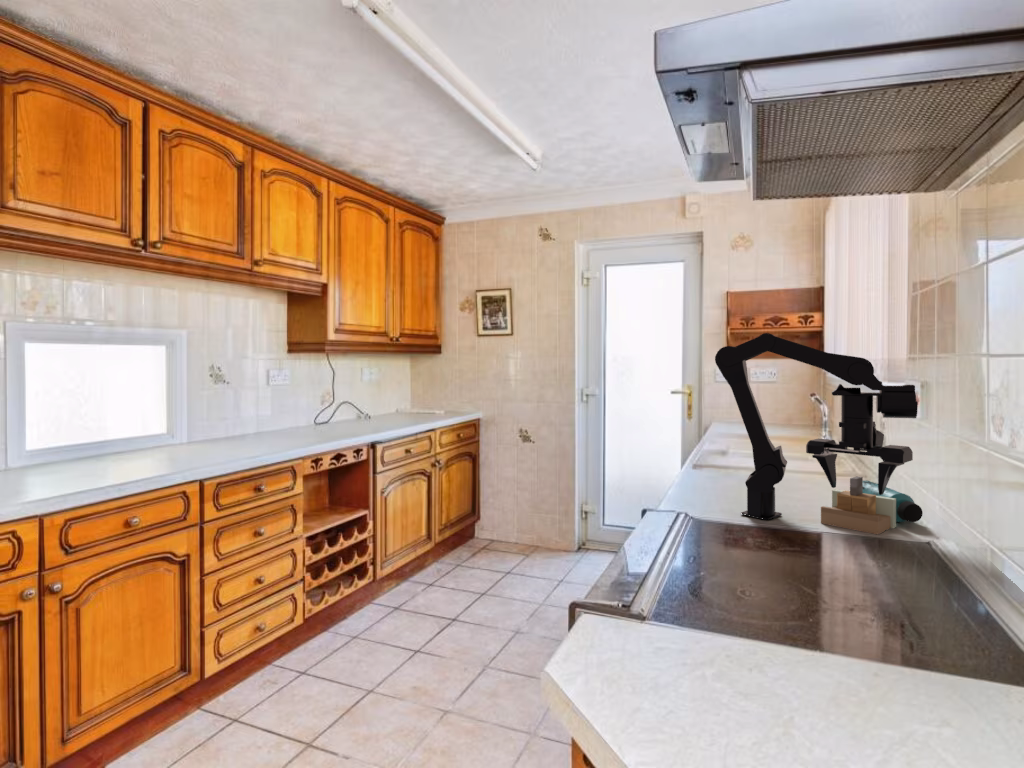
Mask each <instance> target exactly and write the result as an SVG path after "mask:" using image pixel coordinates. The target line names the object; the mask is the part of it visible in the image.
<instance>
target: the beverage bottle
mask: <svg viewBox="0 0 1024 768" xmlns="http://www.w3.org/2000/svg"><path fill="white" fill-rule="evenodd" d="M863 493H865V494H871V495H876V496H882V497H889V498H895V499H896V523H904V522H909V523H917V522H919V521H920V520H921V519H922V517H923V509H922V507H921V506H920V505H918V504H917V503H915V500H914V499H913V497H911V496H910V495H908V494H906V493H902V492H900V491H897V490H896V489H892V488H890V487H888V486H886V488H885V491H884V493H883V495H879V491H878V483H877V482H874V481H871V480H868V479H865V480H863Z"/></svg>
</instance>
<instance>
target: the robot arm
mask: <svg viewBox="0 0 1024 768" xmlns="http://www.w3.org/2000/svg"><path fill="white" fill-rule="evenodd" d="M716 352H717V353H716V354H715V356H714V361H715V362H714V363H715V364H716V367H717V368H718V369H719V372H720V373H721V375H722V376H723V378H724V379H725V381H726V382H727V384H728V385H729V387H730V389H731V392H732V394H733V397H734V400H735V402H736V406H737V407H738V411H739V413H740V415H741V418H742V421H743V425H744V427H745V430H746V433H747V435H748V438H749V441H750V443H751V447H752V458H753V464H754V471H752V473H750V474H749V475H748V477H747V479H746V481H745V486H746V499H747V500H746V501H747V502H746V504H747V505H746V509H747V510H744V511H742V512H740V514H741V513H742V514H746V515H750V516H754V517H758V518H757V519H759V518H763V519H762V520H764V519H766V520H765V521H769V519H770V520H772V518H773V519H775V518H778V517H780V516H782V515H783V514H782V512H778V511H776V487H775V485H778V484H779V483H780V482H781V481H782V480H783V478H785V477H784V476H785V472H786V468H787V465H788V461H787V460H786V458H785V456H784V453H783V447H782V445H778V446H776V447H775V446H774V444H773V443H772V441H771V439H770V437H769V434H768V431H767V429H766V426H765V423H764V421H763V420H764V419H762V416H761V413H760V410H759V407H758V405H757V404H758V403H757V402H756V398H755V397H754V396H755V395H754V393H753V391H752V388H751V386H750V385H751V384H750V382H749V373H748V366H747V361H749V360H752V359H753V358H755V357H757V356H759V355H762V354H765V353H767V352H769V353H772V354H775V355H779V356H781V357H783V358H788V359H791V360H794V361H797V362H799V363H803V364H806V365H809V366H813V367H815V368H819V369H822V371H823V370H824V372H825V371H826V372H827V373H829V374H831V375H833V376H834V377H837V378H838V379H840V380H842V381H844V382H846V383H849V384H851V385H852V386H853V385H854V386H865V387H866V388H868V389H870V390H872V391H879V392H866V391H863V392H861V391H862V390H861V387H845V386H843V385H842V383H839V384H838V386H837V387H836V388H835V389H834V390H832V391H831V395H832V396H834V397H835V396H836V397H837V396H841V399H840V400H841V401H840V402H841V408H840V409H841V413H840V414H841V418H840V419H841V421H839V422H838V427H839V428H841V429H840V430H841V431H840V433H841V438H840V439H841V440H840V441H838V443H837V442H836V440H835V439H827V438H814V439H810V440H809V441H807V443H806V444H805V445H806V446H805V451H806V452H805V453H806V454H809V455H810V454H811V455H812V456H811V457H812V458H813V459H816V461H818V463H819V465H820V467H821V468H822V470H823V472H824V474H825V476H826V478H827V481H828V482H829V484H830V486H831V488H833V489H834V488H836V487H837V468H836V461H837V457H838V454H839V453H840V454H848V455H859V456H867V457H868V456H869V457H876V458H878V457H879V458H880V459H881V460H882V461H881V462H877V464H878V470H877V474H878V475H877V476H878V477H877V484H878V491H879V495H883V493H884V491H885V488H886V487H888V484H889V481H890V479H891V476H892V475H893V473H894V471H895V470H896V468H898V467H899V466H902V465H905V463H908V462H911V461H913V458H914V457H913V456H914V455H913V454H914V453H913V450H912V448H911V447H910V446H905V445H897V444H896V445H895V444H889V445H886V446H885V445H884V437H885V434H884V433H883V432H882V431H880V430H878V429H877V425H876V421H874V418H873V417H874V397H876V399H875V403H876V404H875V407H876V408H875V409H876V413H879V414H882V418H883V419H885V418H886V419H892V418H893V419H917V416H918V402H919V401H917V393H916V385H915V384H904V385H883V381H881V380H879V379H878V378H877V376H875V368H874V365H873V364H872V362H871V361H870V360H868V359H866V358H865V357H859V356H854V355H852V356H851V355H847V354H846V355H845V354H839V353H832V352H831V353H830V352H826V351H824V350H820V349H816V348H813V347H810V346H806V345H804V344H800V343H798V342H795V341H791V340H788V339H785V338H781V337H778V336H776V335H774V334H772V333H769V332H765V333H761V334H760V335H759V336H757V337H755V338H753V339H752V338H751V339H750V340H747V341H745V342H743V343H740V344H738V345H736V346H733V345H726V346H723V347H721V348H719V350H718V351H716ZM883 445H884V446H883ZM850 448H851V449H850ZM852 448H853V449H852ZM750 516H749V517H750ZM754 517H753V518H754ZM767 519H768V520H767Z"/></svg>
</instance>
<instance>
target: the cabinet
mask: <svg viewBox="0 0 1024 768" xmlns="http://www.w3.org/2000/svg"><path fill="white" fill-rule="evenodd" d="M863 479H864V478H863V476H856V475H855V476H854V477H850V479H849V490H843V492H840V493H837V509H842V510H848V511H853V512H859V513H865V514H870V515H875V514H876V495H871V494H865V493H863V481H864V480H863Z"/></svg>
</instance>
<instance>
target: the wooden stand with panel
mask: <svg viewBox="0 0 1024 768" xmlns="http://www.w3.org/2000/svg"><path fill="white" fill-rule="evenodd" d="M843 491H844V490H841V489H832V490H831V507H830V506H824V505H823V506H821V507H820V524H824V525H829V526H833V527H838V528H844V529H849V530H854V531H859V532H864V533H867V534H868V533H869V534H875V535H880V534H882V533H883V532H886V531H888V530H890V529H892V528H894V529H895V527H896V528H897V522H896V499H895V498H889V497H882V496H876V514H875V515H870V514H865V513H859V512H853V511H848V510H842V509H837V493H840V492H843ZM889 528H890V529H889ZM887 529H888V530H887ZM885 530H886V531H885Z"/></svg>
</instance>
